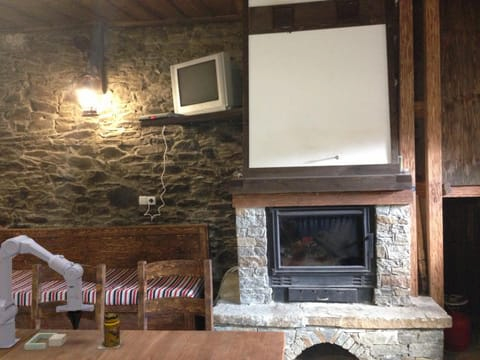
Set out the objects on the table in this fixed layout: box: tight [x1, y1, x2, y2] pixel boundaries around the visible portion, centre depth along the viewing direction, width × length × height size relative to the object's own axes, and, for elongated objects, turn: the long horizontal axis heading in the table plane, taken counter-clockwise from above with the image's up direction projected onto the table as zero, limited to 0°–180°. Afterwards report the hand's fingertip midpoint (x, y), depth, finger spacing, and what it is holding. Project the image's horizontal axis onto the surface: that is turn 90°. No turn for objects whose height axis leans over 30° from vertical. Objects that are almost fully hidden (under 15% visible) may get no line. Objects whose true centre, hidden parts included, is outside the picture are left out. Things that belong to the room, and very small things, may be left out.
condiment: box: [97, 312, 123, 350], centre depth 163 cm, size 7×8×12 cm
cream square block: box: [48, 333, 67, 347], centre depth 165 cm, size 5×5×3 cm
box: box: [23, 332, 58, 351], centre depth 165 cm, size 8×11×2 cm
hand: (76, 328), depth 165 cm, fingers closed
